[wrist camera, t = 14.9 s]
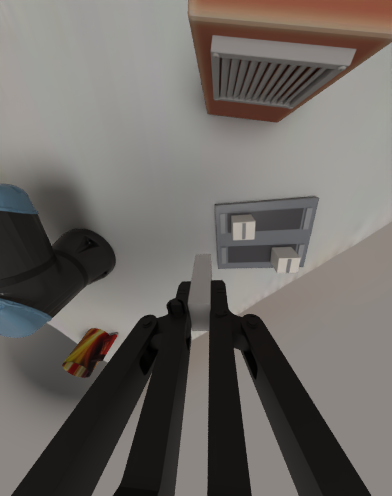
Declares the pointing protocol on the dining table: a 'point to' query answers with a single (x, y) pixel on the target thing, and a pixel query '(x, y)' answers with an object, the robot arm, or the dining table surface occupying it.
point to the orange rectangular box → (281, 50)
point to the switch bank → (265, 230)
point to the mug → (88, 353)
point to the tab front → (243, 227)
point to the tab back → (285, 260)
